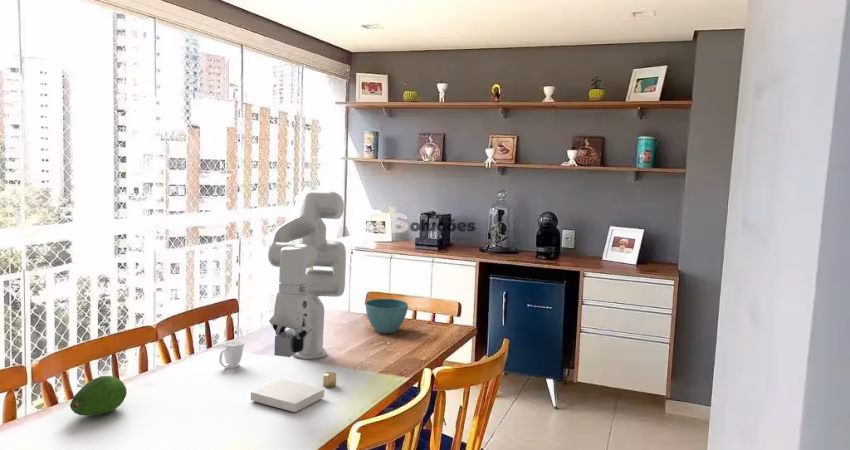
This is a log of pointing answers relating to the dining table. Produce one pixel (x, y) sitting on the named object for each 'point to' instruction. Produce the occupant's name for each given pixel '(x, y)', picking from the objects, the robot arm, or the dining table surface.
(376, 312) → the teal bowl
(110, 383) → the fruit
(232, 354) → the cup
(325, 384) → the cylinder
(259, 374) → the dining table surface
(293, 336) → the block
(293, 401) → the stand
